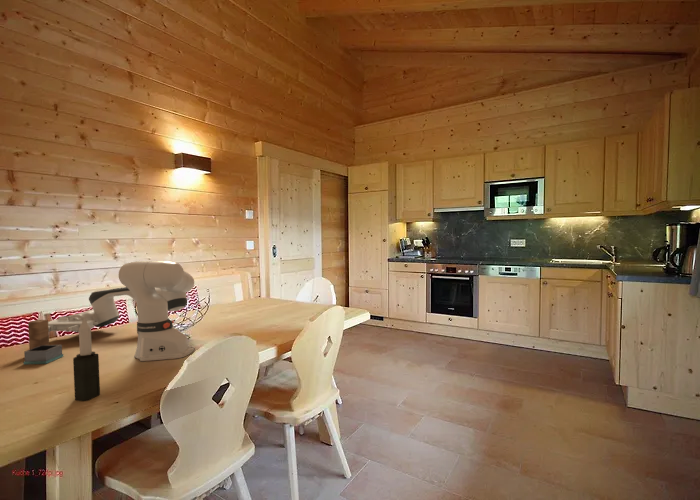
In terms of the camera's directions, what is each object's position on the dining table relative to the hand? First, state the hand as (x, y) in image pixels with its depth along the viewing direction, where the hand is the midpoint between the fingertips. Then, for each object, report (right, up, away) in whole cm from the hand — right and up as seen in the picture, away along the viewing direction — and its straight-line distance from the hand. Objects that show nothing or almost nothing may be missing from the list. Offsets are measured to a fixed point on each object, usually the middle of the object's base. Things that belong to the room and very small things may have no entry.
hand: (56, 330), depth 161 cm
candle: (+52, -9, -52) cm, 74 cm away
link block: (+1, -8, -10) cm, 13 cm away
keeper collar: (+10, -8, -19) cm, 23 cm away
